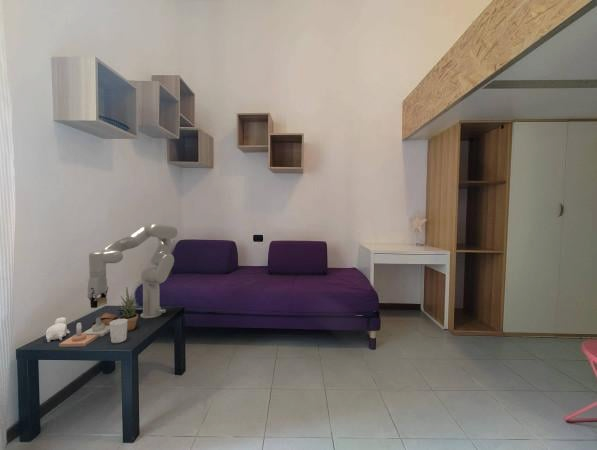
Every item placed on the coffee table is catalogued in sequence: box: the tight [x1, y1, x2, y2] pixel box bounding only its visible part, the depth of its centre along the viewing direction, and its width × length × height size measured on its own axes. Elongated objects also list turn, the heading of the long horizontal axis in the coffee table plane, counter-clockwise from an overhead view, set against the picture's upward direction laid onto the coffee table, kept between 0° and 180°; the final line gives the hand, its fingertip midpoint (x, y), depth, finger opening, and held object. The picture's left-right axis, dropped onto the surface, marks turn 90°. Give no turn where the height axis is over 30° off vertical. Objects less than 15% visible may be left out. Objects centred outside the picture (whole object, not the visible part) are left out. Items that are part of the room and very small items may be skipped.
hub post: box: [58, 322, 99, 348], centre depth 141 cm, size 12×10×10 cm
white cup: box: [109, 318, 128, 344], centre depth 144 cm, size 8×8×10 cm
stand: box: [83, 316, 110, 337], centre depth 153 cm, size 11×11×8 cm
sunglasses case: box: [92, 311, 119, 326], centre depth 169 cm, size 18×7×7 cm
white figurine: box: [45, 316, 71, 343], centre depth 148 cm, size 9×8×15 cm
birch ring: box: [89, 296, 108, 307], centre depth 153 cm, size 7×7×3 cm
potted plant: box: [118, 286, 139, 332], centre depth 158 cm, size 10×10×25 cm
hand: (98, 305), depth 153 cm, fingers closed on birch ring, 7 cm apart
